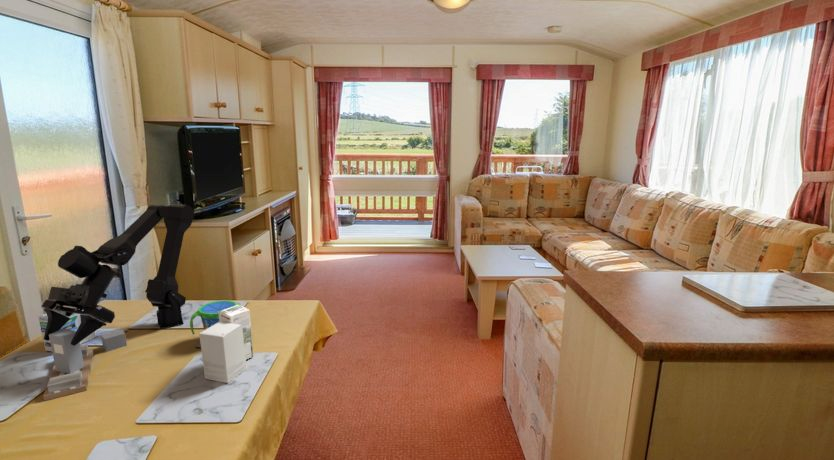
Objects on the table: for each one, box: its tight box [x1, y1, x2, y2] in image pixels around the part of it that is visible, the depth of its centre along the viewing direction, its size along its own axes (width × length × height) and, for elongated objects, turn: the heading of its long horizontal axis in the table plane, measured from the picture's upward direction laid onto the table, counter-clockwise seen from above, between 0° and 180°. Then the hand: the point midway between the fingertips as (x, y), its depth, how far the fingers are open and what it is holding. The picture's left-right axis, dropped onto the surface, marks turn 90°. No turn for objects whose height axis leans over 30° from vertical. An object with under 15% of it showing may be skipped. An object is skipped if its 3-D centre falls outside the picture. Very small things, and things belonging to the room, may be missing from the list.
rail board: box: [43, 343, 95, 401], centre depth 114 cm, size 22×8×3 cm, turn 32°
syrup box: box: [218, 304, 254, 361], centre depth 120 cm, size 6×6×14 cm
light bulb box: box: [38, 310, 96, 352], centre depth 129 cm, size 11×7×11 cm, turn 168°
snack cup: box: [189, 300, 244, 335], centre depth 132 cm, size 16×10×10 cm
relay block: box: [100, 328, 128, 353], centre depth 128 cm, size 5×4×4 cm
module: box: [49, 329, 84, 374], centre depth 113 cm, size 4×5×10 cm
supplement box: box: [198, 322, 248, 384], centre depth 113 cm, size 7×7×13 cm
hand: (58, 342), depth 111 cm, fingers open, 9 cm apart
